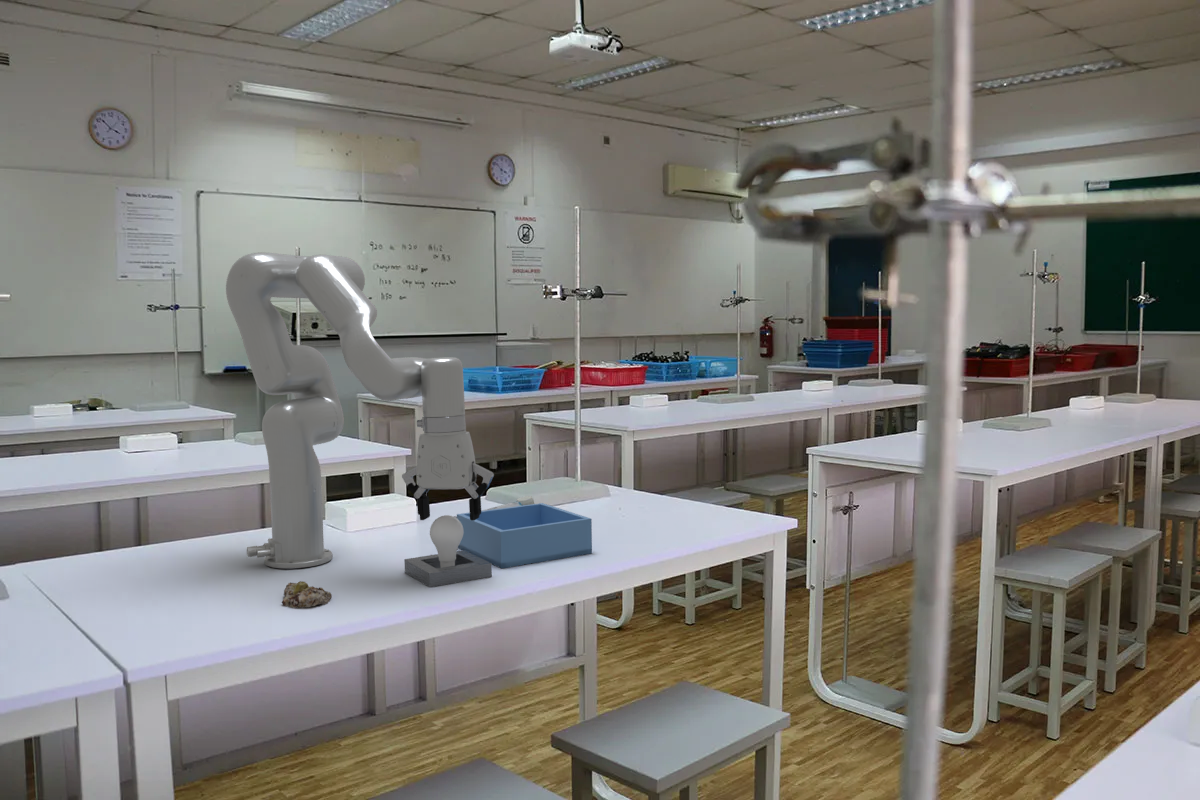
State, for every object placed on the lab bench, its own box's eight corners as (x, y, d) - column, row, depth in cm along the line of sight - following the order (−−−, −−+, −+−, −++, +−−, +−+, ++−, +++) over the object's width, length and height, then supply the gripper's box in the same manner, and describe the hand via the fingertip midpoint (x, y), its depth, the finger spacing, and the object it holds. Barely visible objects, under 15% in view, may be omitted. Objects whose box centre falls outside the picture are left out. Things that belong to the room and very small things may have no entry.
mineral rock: (344, 589, 159) (298, 585, 154) (338, 615, 158) (293, 612, 153) (316, 578, 167) (272, 574, 162) (311, 603, 167) (267, 600, 161)
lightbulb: (432, 580, 171) (430, 520, 170) (429, 571, 177) (427, 513, 176) (466, 577, 173) (465, 517, 172) (462, 569, 179) (460, 511, 178)
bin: (501, 568, 179) (500, 531, 178) (457, 547, 195) (456, 514, 195) (592, 553, 189) (591, 518, 189) (542, 534, 206) (542, 503, 206)
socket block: (429, 587, 167) (429, 573, 167) (404, 572, 177) (404, 559, 177) (491, 576, 173) (491, 563, 173) (464, 562, 183) (463, 550, 183)
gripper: (391, 428, 171) (397, 523, 172) (483, 427, 167) (488, 523, 168) (408, 424, 178) (413, 514, 179) (496, 422, 174) (501, 515, 176)
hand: (449, 518), depth 174 cm, fingers open, 9 cm apart
